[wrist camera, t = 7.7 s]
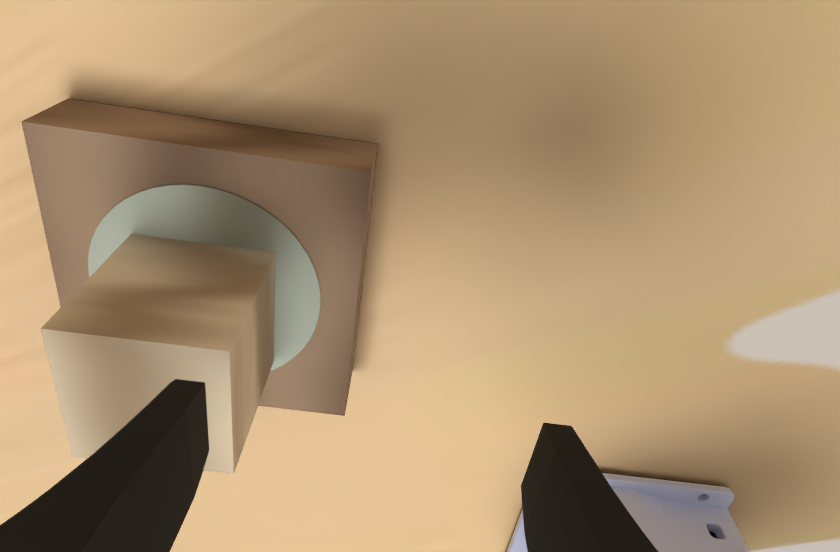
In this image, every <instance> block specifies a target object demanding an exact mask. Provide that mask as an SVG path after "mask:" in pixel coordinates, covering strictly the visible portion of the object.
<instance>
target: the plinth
mask: <svg viewBox="0 0 840 552" xmlns="http://www.w3.org/2000/svg"><path fill="white" fill-rule="evenodd" d="M22 126H23V131H24V135H25V140H26V145H27V149H28V154H29V159H30V164H31V168H32V173H33V178H34V182H35V187H36V192H37V197H38V201H39V206H40V211H41V216H42V220H43V225H44V230H45V234H46V239H47V244H48V249H49V253H50V258H51V263H52V267H53V272H54V277H55V282H56V286H57V291H58V296H59V300H60V305H61V307H62V306H63V305H64V304H65V303H66V302H67V301H68V300H69V299H70V297H71V296H72V295H73V294H74V293H75V292H76V291H77V290H78V289H79V288H80V287H81V286H82V285H83V284H84V283H85V282H86V281H87V280H88V279H89V278H90V276H91V275H92V274H93V273H94V272H95V271H96V270H97V269H98V268H99V267H100V266H101V265H102V264H103V263H104V262H105V261H106V260H107V259H108V258H109V257H110V255H111V254H112V253H113V252H114V251H115V250H116V249H117V248H118V247H119V246H120V245H121V244H122V243H123V242H124V241H125V240H126V239H127V238H128V237H129V236H130V235H131V233H132V234H139V235H147V236H154V237H162V238H170V239H177V240H185V241H192V242H200V243H208V244H215V245H223V246H231V247H238V248H246V249H253V250H261V251H269V252H276V254H275V316H274V362H273V365H272V367H271V370H270V373H269V376H268V379H267V381H266V384H265V387H264V390H263V393H262V396H261V398H260V401H259V404H258V406H266V407H275V408H283V409H292V410H300V411H309V412H317V413H326V414H334V415H343V416H345V410H346V404H347V399H348V393H349V387H350V382H351V376H352V369H353V360H354V351H355V342H356V333H357V324H358V315H359V306H360V297H361V288H362V279H363V270H364V261H365V252H366V243H367V235H368V226H369V217H370V208H371V199H372V190H373V181H374V172H375V163H376V154H377V145H378V144H373V143H367V142H360V141H353V140H346V139H339V138H333V137H326V136H319V135H312V134H305V133H299V132H292V131H285V130H278V129H271V128H265V127H258V126H251V125H244V124H237V123H231V122H224V121H217V120H210V119H203V118H196V117H190V116H183V115H176V114H169V113H162V112H156V111H149V110H142V109H135V108H128V107H122V106H115V105H108V104H101V103H94V102H88V101H81V100H74V99H66V100H64V101H62V102H60V103H58V104H56V105H54V106H52V107H50V108H48V109H46V110H44V111H42V112H40V113H38V114H36V115H34V116H32V117H30V118H28V119H26V120H24V121H22Z"/></svg>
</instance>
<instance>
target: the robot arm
mask: <svg viewBox="0 0 840 552" xmlns="http://www.w3.org/2000/svg"><path fill="white" fill-rule="evenodd" d="M208 453H209V437H208V421H207V404H206V388H205V382H197V381H189V380H180V379H175V380H173V381H172V382H170V383H169V384H168V385H167V386H166V387H165V388H164V389H163V390H162V391H161V392H160V393H159V394H158V395H157V396H156V397H155V398H154V399H153V400H152V401H151V402H150V403H149V404H148V405H146V406H145V407H144V408H143V409H142V410H141V411H140V412H139V413H138V414H137V415H136V416H135V417H134V418H133V419H132V420H130V421H129V422H128V423H127V424H126V425H125V426H124V427H123V428H122V429H121V430H119V431H118V432H117V433H116V434H115V435H114V436H113V437H112V438H110V439H109V440H108V441H107V442H106V443H105V444H104V445H103V446H101V447H100V448H99V449H98V450H97V451H96V452H95V453H93V454H92V455H91V456H90V457H89V458H88V459H86V460H85V461H84V462H83V463H81V464H80V465H79V466H78V467H77V468H75V469H74V470H73V471H72V472H70V473H69V474H68V475H67V476H65V477H64V478H63V479H62V480H60V481H59V482H58V483H57V484H56V485H54V486H53V487H52V488H51V489H49V490H48V491H47V492H45V493H44V494H43V495H41V496H40V497H39V498H37V499H36V500H35V501H33V502H32V503H31V504H29V505H28V506H27V507H25V508H24V509H23V510H21V511H20V512H18V513H17V514H16V515H14V516H13V517H11V518H10V519H8V520H7V521H6V522H4V523H3V524H1V525H0V552H170V549H171V547H172V545H173V543H174V541H175V539H176V536H177V534H178V532H179V530H180V528H181V525H182V523H183V521H184V519H185V517H186V514H187V512H188V510H189V508H190V506H191V503H192V501H193V499H194V496H195V493H196V490H197V487H198V484H199V481H200V479H201V475H202V472H203V469H204V466H205V463H206V460H207V456H208ZM521 491H522V511H521V514H520V517H519V519H518V522H517V525H516V527H515V530H514V533H513V536H512V538H511V541H510V544H509V546H508V549H507V552H749V550H748V548H747V546H746V544H745V542H744V540H743V538H742V536H741V534H740V532H739V530H738V528H737V526H736V524H735V522H734V520H733V518H732V516H731V514H730V512H729V510H728V508H729V506H730V505H731V503H732V502H733V500H734V495H733V493H732V491H731V490H730V489H729V488H727V487H722V486H713V485H704V484H696V483H687V482H678V481H669V480H661V479H652V478H643V477H634V476H626V475H617V474H608V473H602V472H601V471H600V469H599V468H598V466H597V465H596V463H595V462H594V460H593V458H592V457H591V455H590V454H589V452H588V451H587V449H586V448H585V446H584V445H583V443H582V441H581V440H580V438H579V437H578V435H577V434H576V432H575V431H574V429H573V428H572V426H567V425H558V424H550V423H543V426H542V429H541V431H540V434H539V437H538V440H537V443H536V445H535V448H534V451H533V454H532V457H531V460H530V462H529V465H528V468H527V471H526V474H525V476H524V479H523V482H522V485H521Z"/></svg>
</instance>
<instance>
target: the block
mask: <svg viewBox="0 0 840 552" xmlns="http://www.w3.org/2000/svg"><path fill="white" fill-rule="evenodd" d="M275 254H276V252H269V251H261V250H253V249H246V248H238V247H231V246H223V245H215V244H208V243H200V242H192V241H185V240H177V239H170V238H162V237H154V236H147V235H139V234H132V233H131V235H130V236H129V237H128V238H127V239H126V240H125V241H124V242H123V243H122V244H121V245H120V246H119V247H118V248H117V249H116V250H115V251H114V252H113V253H112V254H111V255H110V257H109V258H108V259H107V260H106V261H105V262H104V263H103V264H102V265H101V266H100V267H99V268H98V269H97V270H96V271H95V272H94V273H93V274H92V275H91V276H90V278H89V279H88V280H87V281H86V282H85V283H84V284H83V285H82V286H81V287H80V288H79V289H78V290H77V291H76V292H75V293H74V294H73V295H72V296H71V297H70V299H69V300H68V301H67V302H66V303H65V304H64V305H63V306H62V307H61V308H60V309H59V310H58V311H57V312H56V313H55V314H54V315H53V316H52V317H51V318H50V320H49V321H48V322H47V323H46V324H45V325H44V326H43V327H42V328H41V332H42V336H43V340H44V344H45V348H46V352H47V356H48V360H49V364H50V368H51V373H52V377H53V381H54V385H55V389H56V393H57V397H58V401H59V405H60V410H61V414H62V418H63V422H64V426H65V430H66V434H67V438H68V442H69V447H70V451H71V455H72V456H73V457H82V458H89V457H90V456H91V455H92V454H93V453H95V452H96V451H97V450H98V449H99V448H100V447H101V446H103V445H104V444H105V443H106V442H107V441H108V440H109V439H110V438H112V437H113V436H114V435H115V434H116V433H117V432H118V431H119V430H121V429H122V428H123V427H124V426H125V425H126V424H127V423H128V422H129V421H130V420H132V419H133V418H134V417H135V416H136V415H137V414H138V413H139V412H140V411H141V410H142V409H143V408H144V407H145V406H146V405H148V404H149V403H150V402H151V401H152V400H153V399H154V398H155V397H156V396H157V395H158V394H159V393H160V392H161V391H162V390H163V389H164V388H165V387H166V386H167V385H168V384H169V383H170V382H172V381H173V380H175V379H180V380H189V381H197V382H205V388H206V404H207V421H208V437H209V453H208V456H207V460H206V463H205V466H204V469H203V471H212V472H221V473H231V474H234V472H235V469H236V466H237V463H238V460H239V457H240V455H241V452H242V449H243V446H244V443H245V441H246V438H247V435H248V432H249V429H250V426H251V424H252V421H253V418H254V415H255V412H256V410H257V407H258V404H259V401H260V398H261V396H262V393H263V390H264V387H265V384H266V381H267V379H268V376H269V373H270V370H271V367H272V365H273V362H274V316H275Z"/></svg>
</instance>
